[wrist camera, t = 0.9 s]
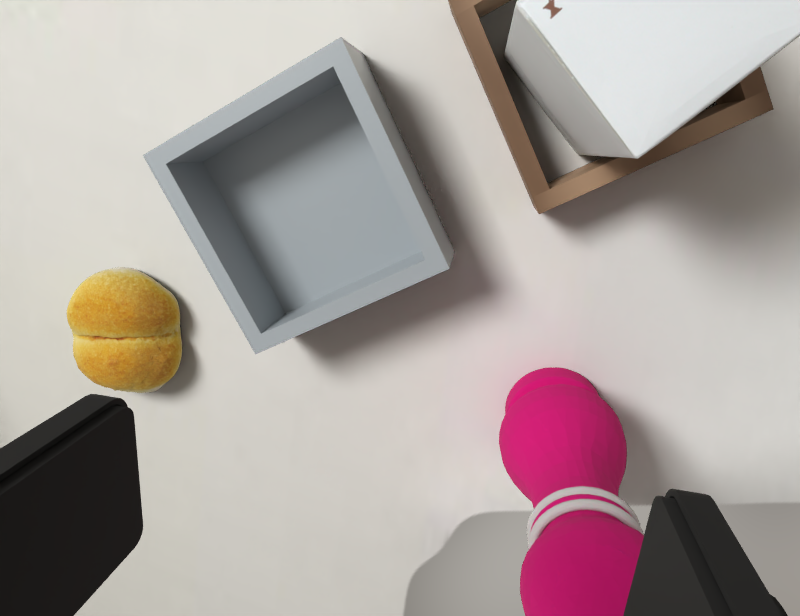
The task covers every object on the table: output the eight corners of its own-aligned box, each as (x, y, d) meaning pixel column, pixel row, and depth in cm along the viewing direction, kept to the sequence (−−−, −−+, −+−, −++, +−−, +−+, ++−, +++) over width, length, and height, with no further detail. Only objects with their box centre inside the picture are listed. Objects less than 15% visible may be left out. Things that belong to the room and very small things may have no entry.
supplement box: (577, 158, 32) (631, 168, 20) (500, 55, 31) (507, -1, 19) (693, 69, 30) (832, 18, 18) (613, -46, 29) (703, -182, 17)
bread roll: (182, 267, 38) (148, 281, 34) (192, 384, 41) (162, 409, 37) (75, 260, 39) (31, 272, 35) (92, 375, 42) (52, 398, 38)
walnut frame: (667, -112, 27) (692, -148, 24) (741, 113, 30) (773, 109, 26) (451, 12, 31) (446, -4, 27) (534, 206, 33) (539, 214, 30)
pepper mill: (475, 401, 37) (463, 668, 18) (562, 338, 35) (649, 567, 16) (543, 474, 38) (598, 803, 19) (631, 417, 36) (793, 724, 17)
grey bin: (362, 52, 32) (340, 37, 27) (454, 251, 34) (449, 268, 30) (189, 154, 35) (142, 155, 30) (284, 327, 38) (255, 354, 33)
